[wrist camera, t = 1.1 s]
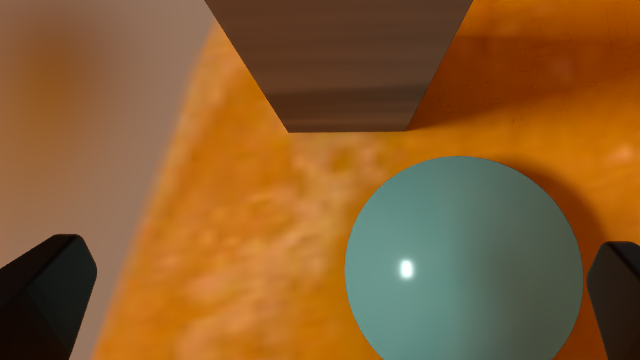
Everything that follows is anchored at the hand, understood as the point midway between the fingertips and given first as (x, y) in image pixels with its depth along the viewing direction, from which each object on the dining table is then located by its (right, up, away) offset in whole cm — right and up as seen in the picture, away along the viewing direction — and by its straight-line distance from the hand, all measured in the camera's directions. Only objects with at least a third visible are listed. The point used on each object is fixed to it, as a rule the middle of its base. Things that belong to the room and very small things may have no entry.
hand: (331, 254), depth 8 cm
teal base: (+5, -2, +12) cm, 13 cm away
